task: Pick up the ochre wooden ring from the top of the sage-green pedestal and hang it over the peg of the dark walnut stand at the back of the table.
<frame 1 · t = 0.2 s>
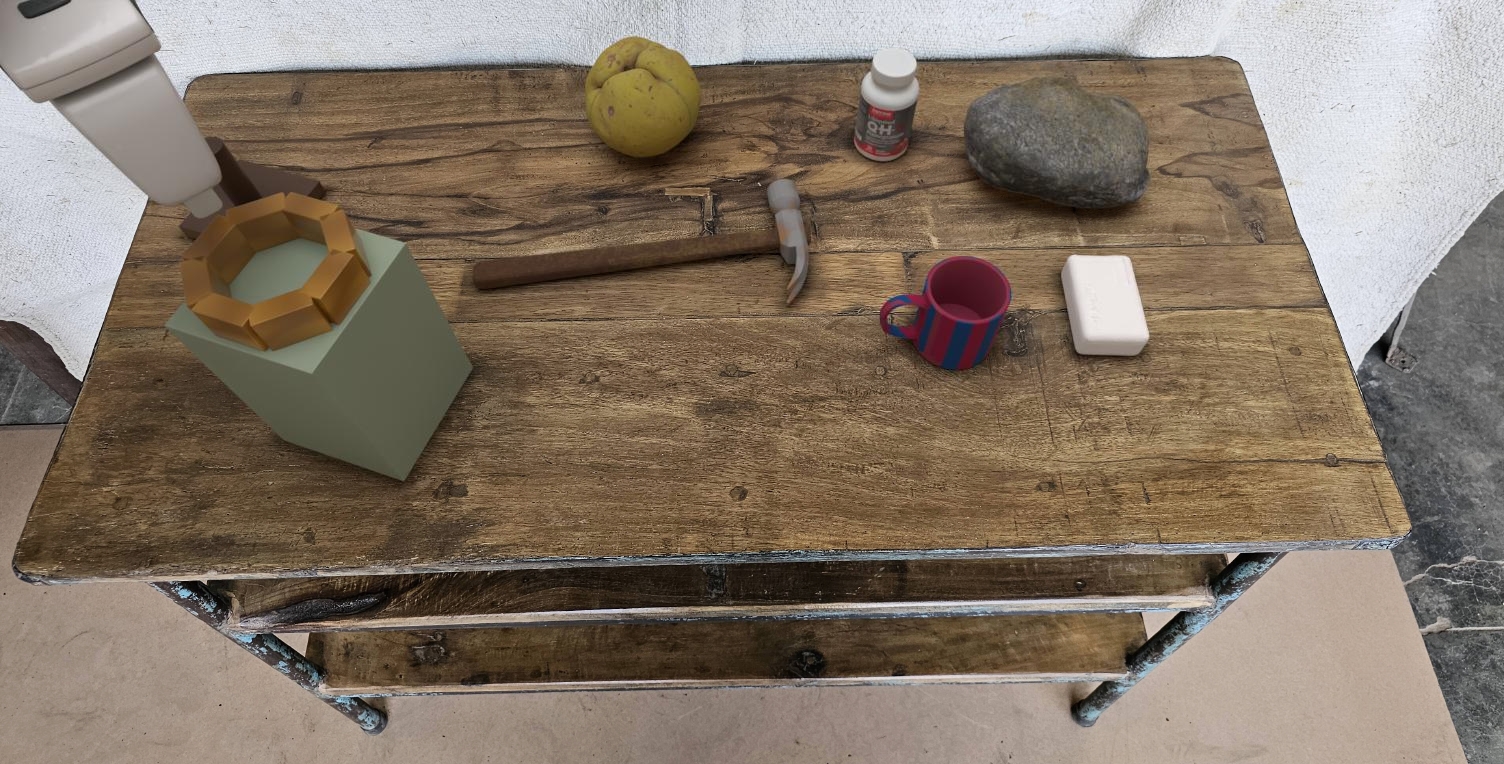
hand: (176, 167, 56), 20 cm above the table, tool pointing down, fingers open, 8 cm apart
fruit: (649, 141, 85), on the table
pill bottle: (880, 145, 85), on the table
cup: (931, 338, 73), on the table
pedestal: (380, 403, 69), on the table
soap: (1096, 315, 74), on the table
hammer: (646, 269, 77), on the table
stone: (1043, 176, 82), on the table
stand: (258, 214, 80), on the table
ring: (288, 282, 56), point 16 cm above the table, touching pedestal
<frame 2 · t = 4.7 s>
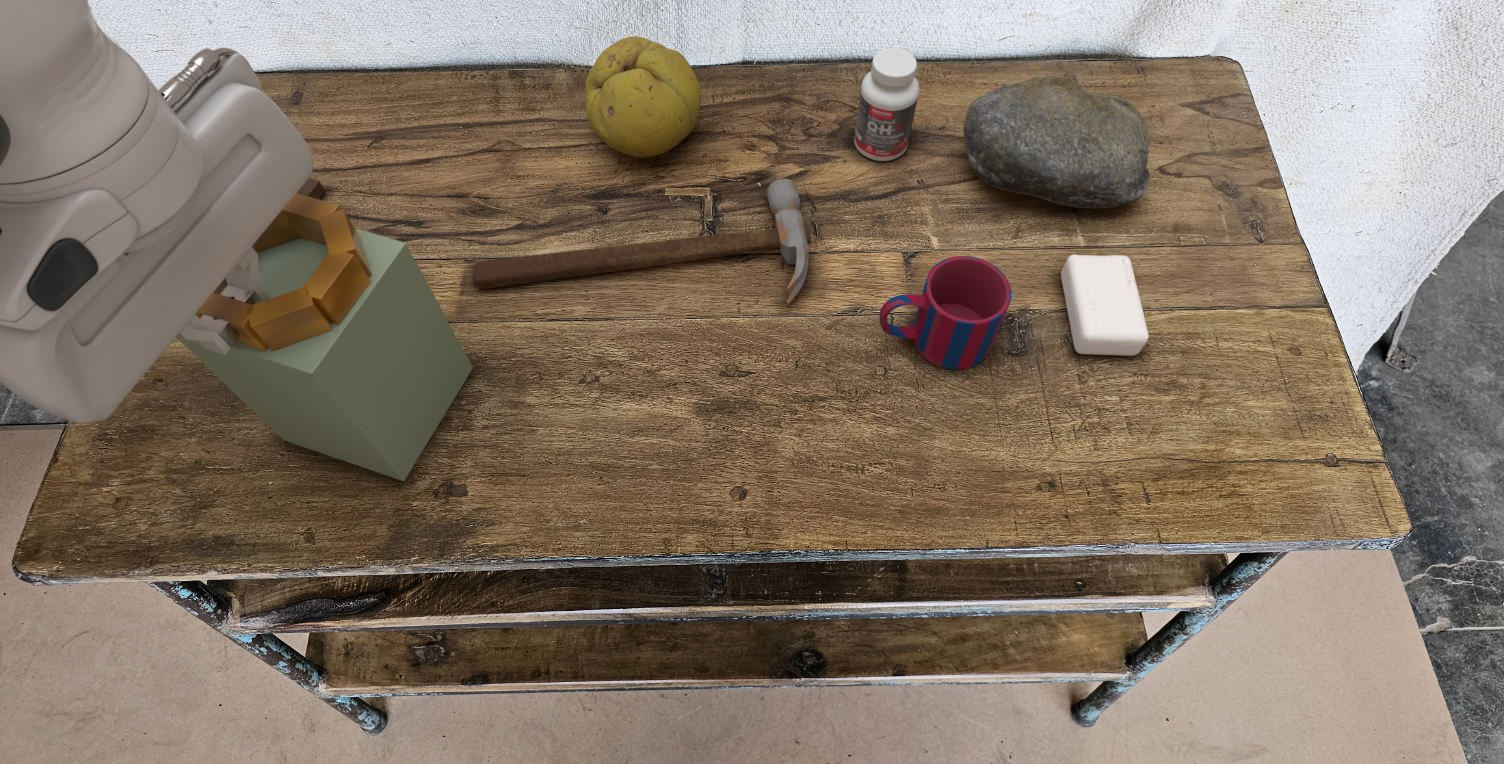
hand: (239, 325, 53), 17 cm above the table, tool pointing down, fingers closed on ring
ring: (288, 282, 56), point 16 cm above the table, touching gripper, pedestal
everything else where it was.
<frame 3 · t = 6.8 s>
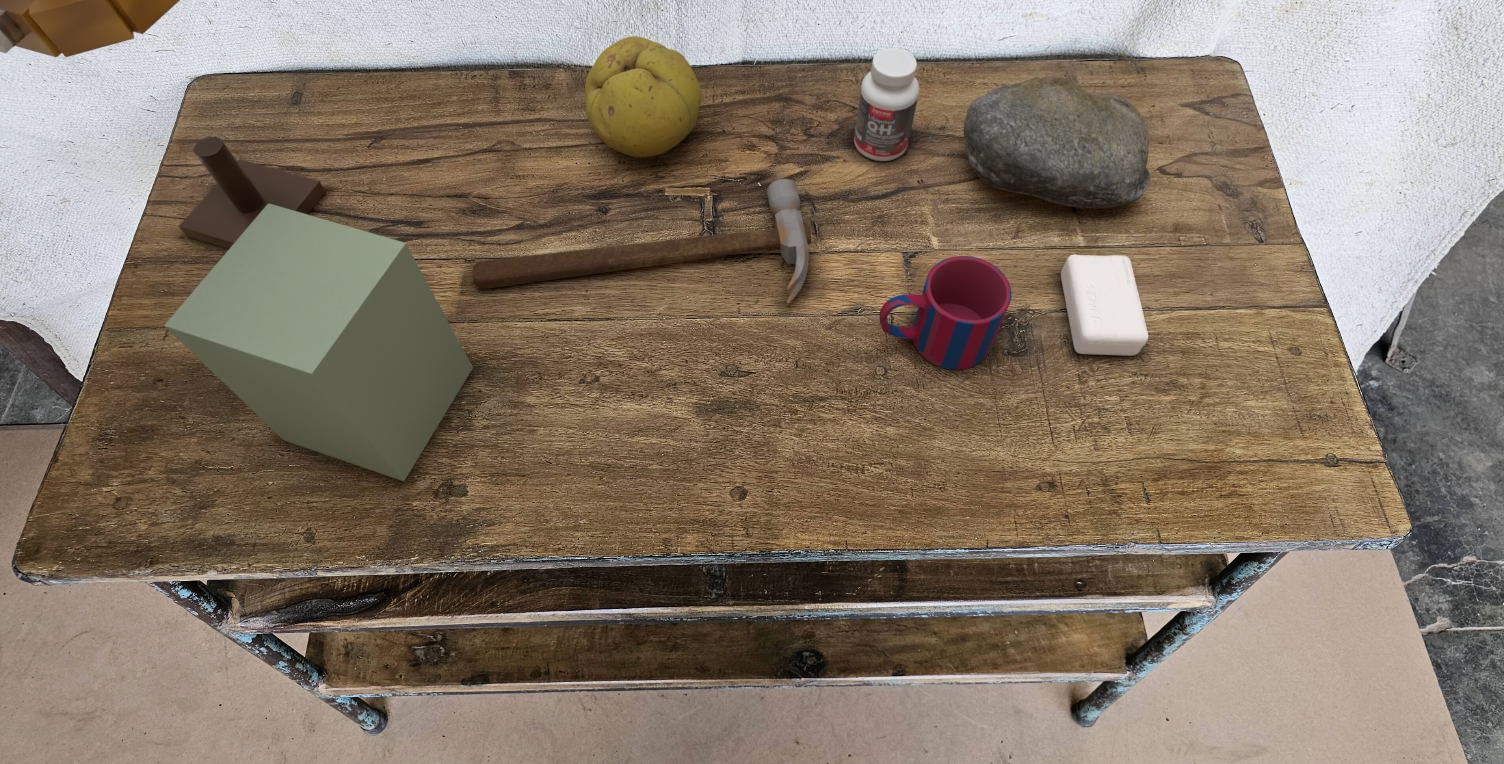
hand: (27, 27, 48), 30 cm above the table, tool pointing down, fingers closed on ring
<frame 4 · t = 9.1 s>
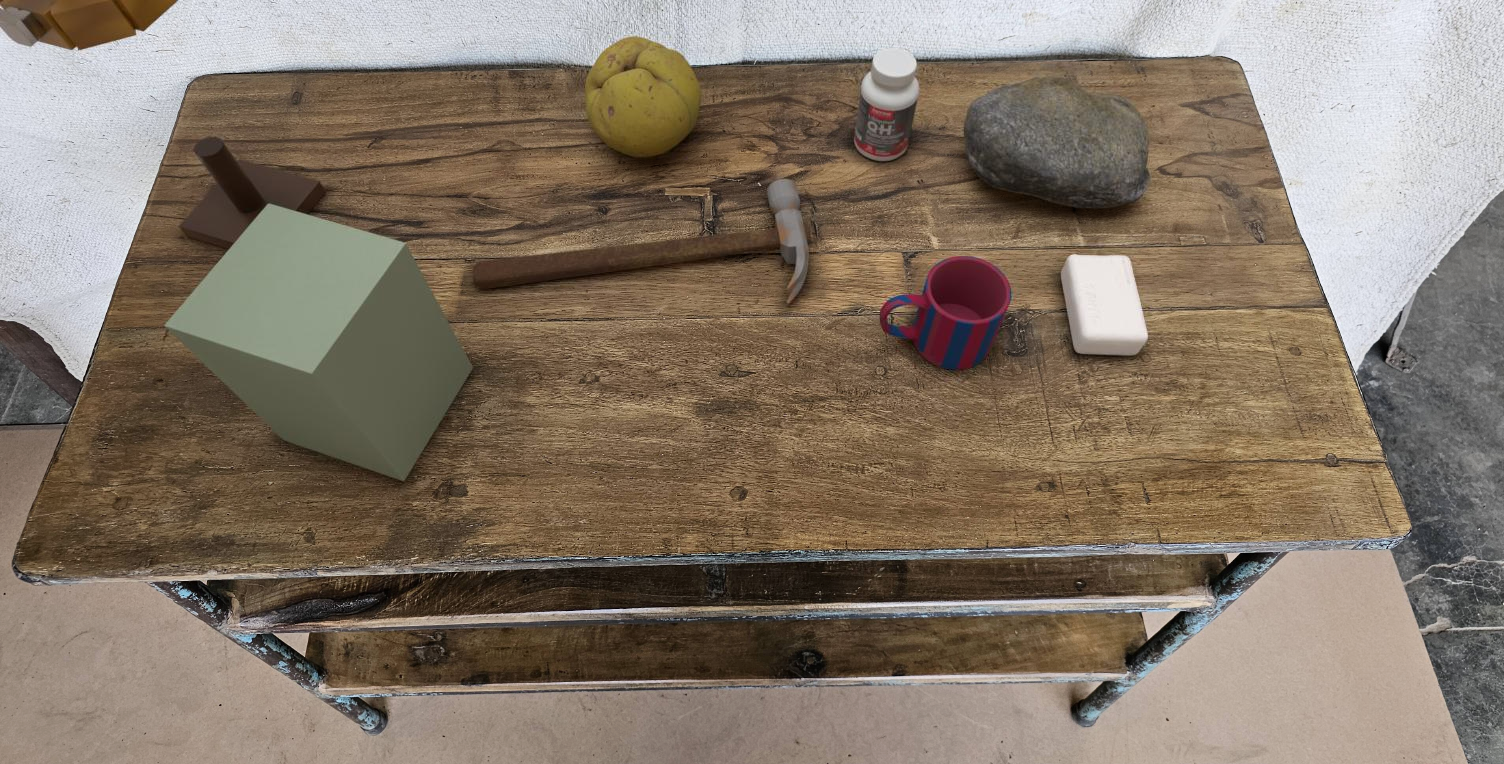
hand: (48, 25, 58), 23 cm above the table, tool pointing down, fingers closed on ring
ring: (103, 1, 61), point 22 cm above the table, touching gripper
everything else where it was.
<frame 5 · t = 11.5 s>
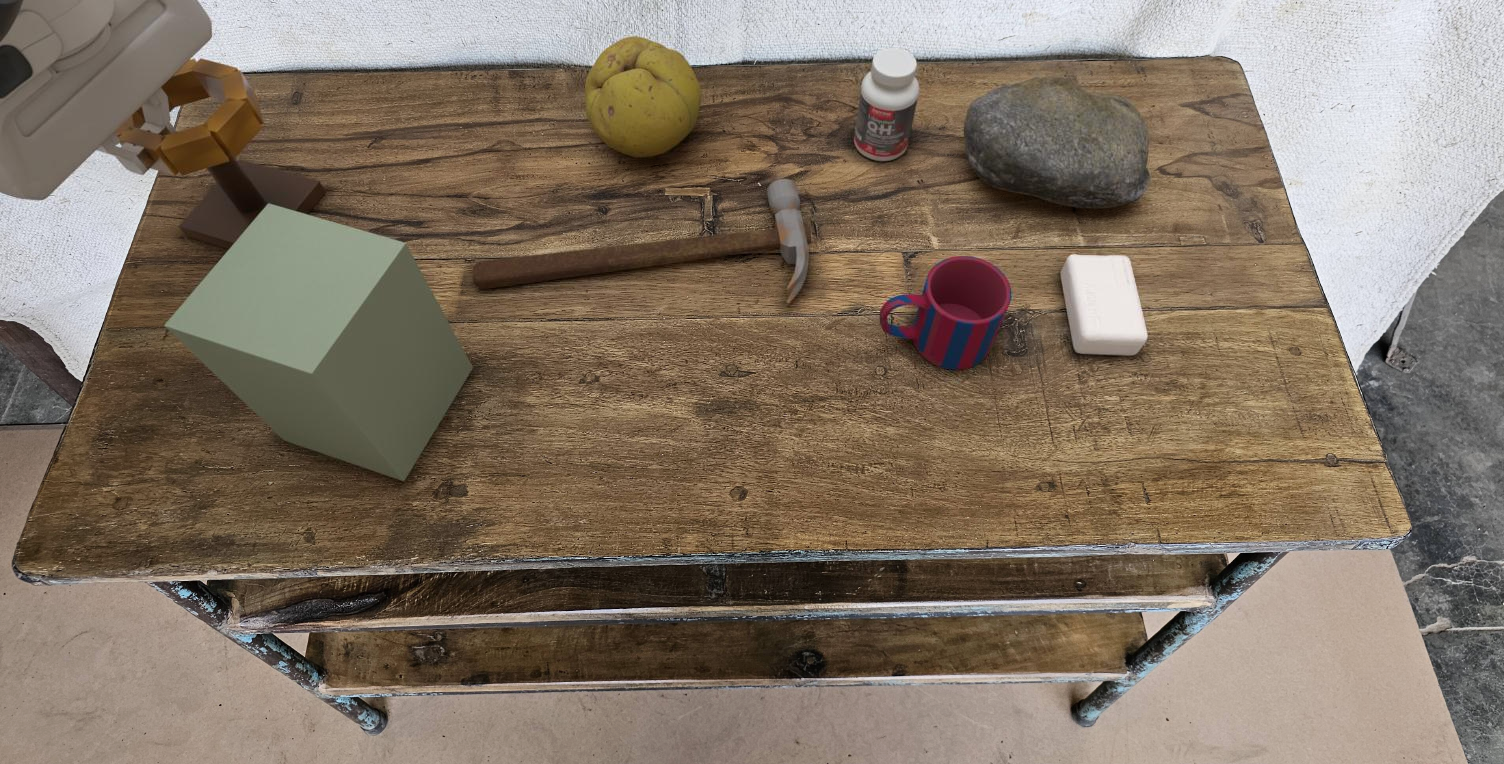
hand: (155, 155, 68), 11 cm above the table, tool pointing down, fingers closed on ring
ring: (198, 128, 71), point 10 cm above the table, touching gripper
everything else where it was.
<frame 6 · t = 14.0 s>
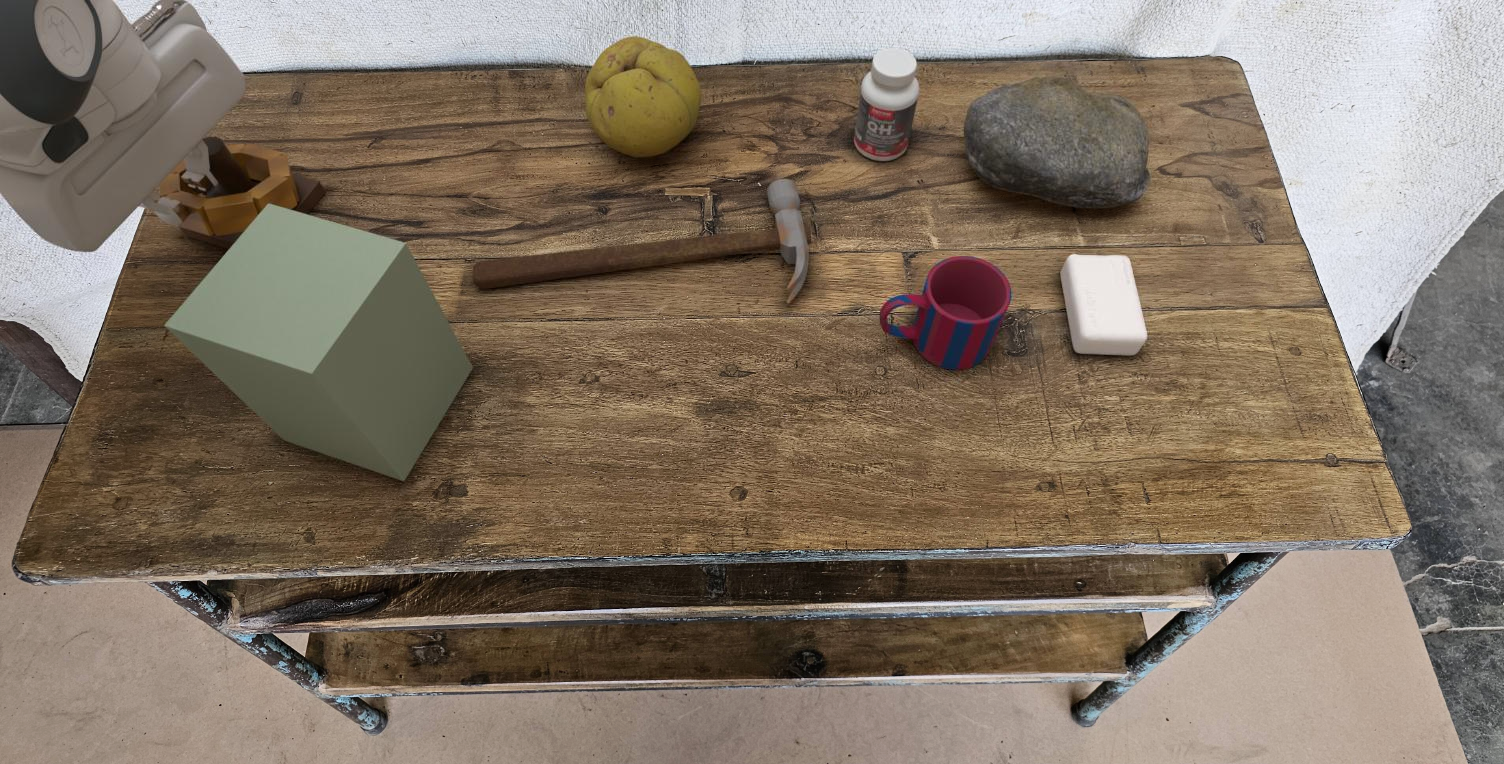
hand: (192, 203, 73), 6 cm above the table, tool pointing down, fingers closed
ring: (235, 201, 77), point 3 cm above the table, tilted 15°, touching stand
everything else where it was.
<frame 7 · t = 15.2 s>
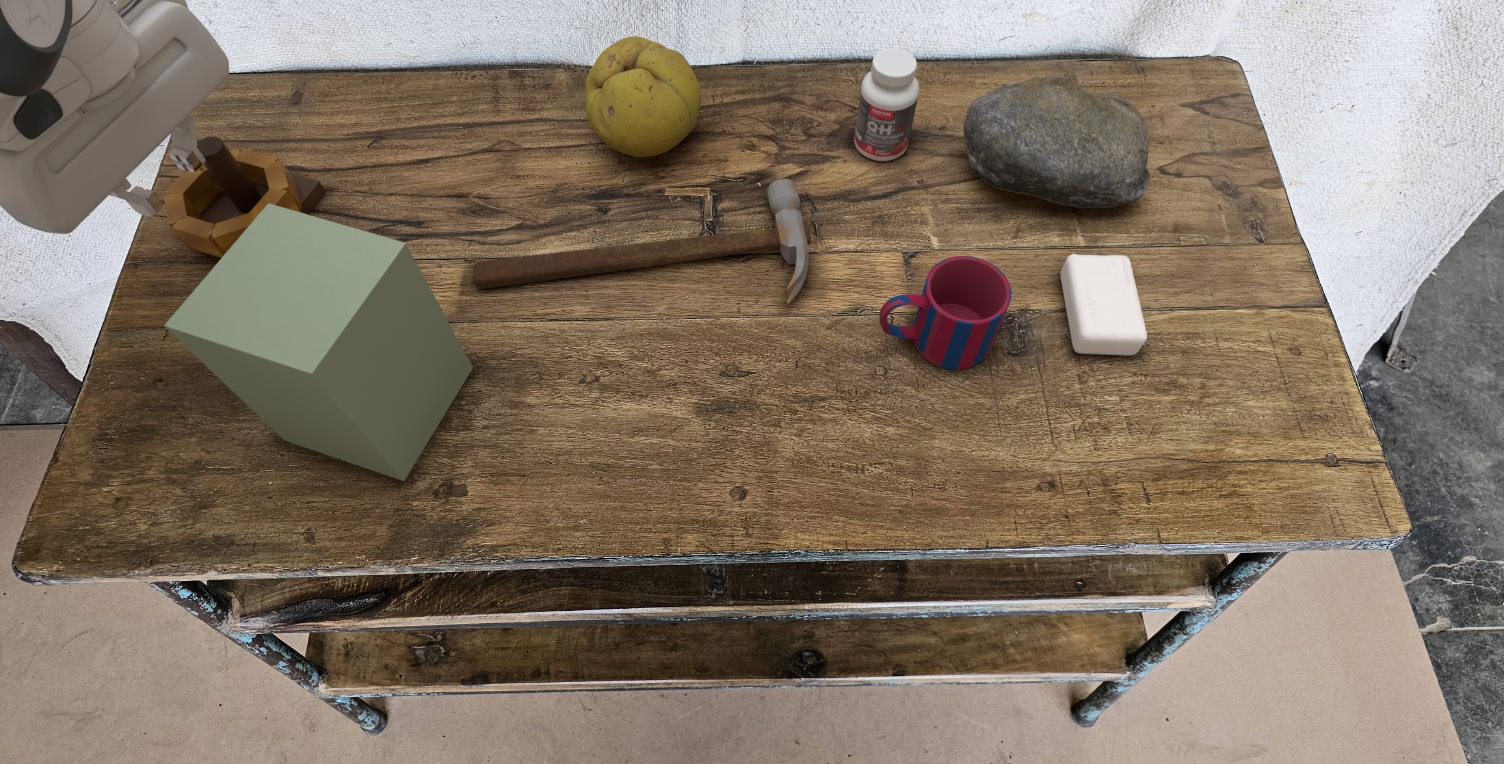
hand: (173, 187, 71), 8 cm above the table, tool pointing down, fingers open, 4 cm apart
ring: (242, 212, 78), point 1 cm above the table, touching stand
everything else where it was.
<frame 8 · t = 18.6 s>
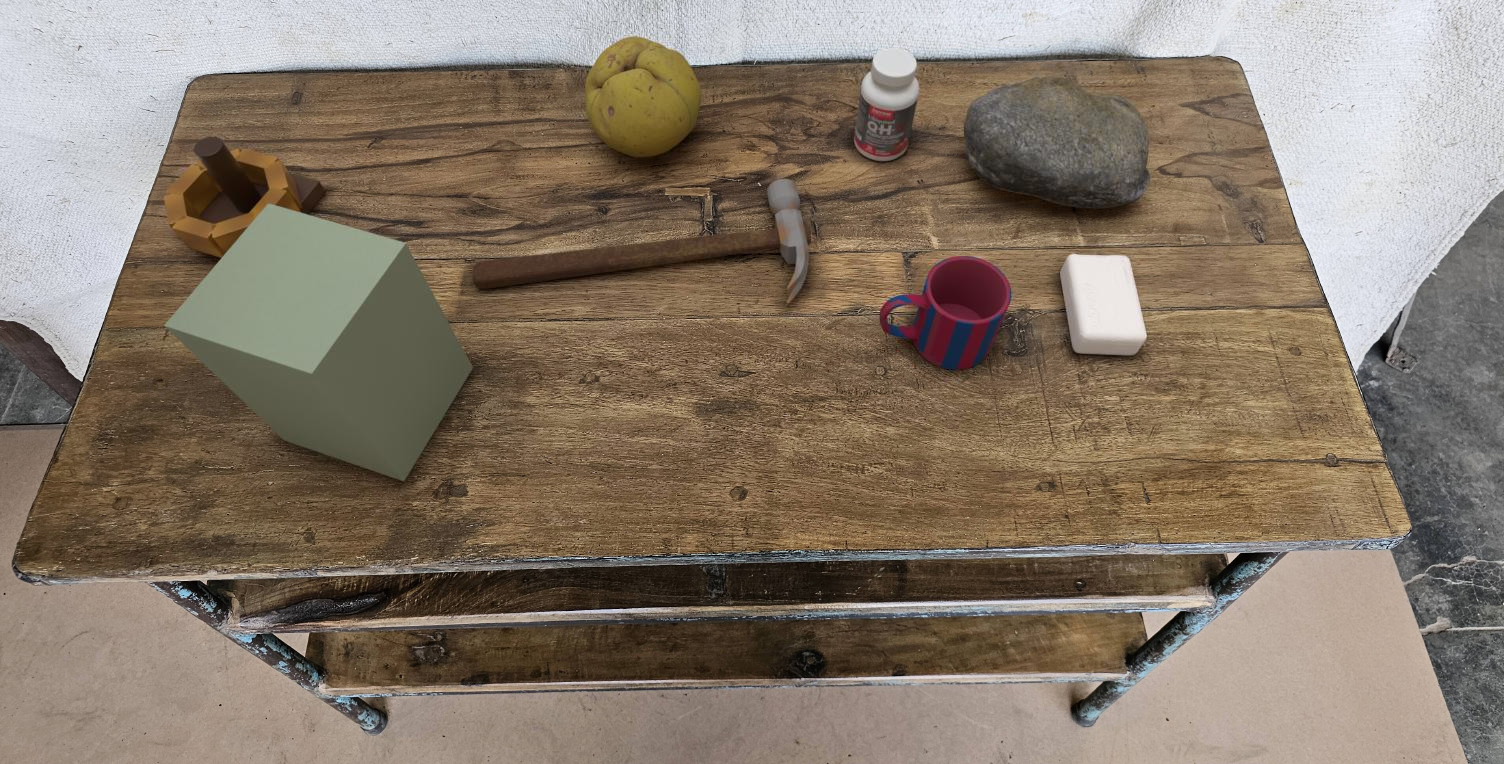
nothing on the table moved.
at the end: ring 1.2 cm off-centre on the stand, point 1.5 cm above the stand's base; the gripper is holding nothing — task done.
